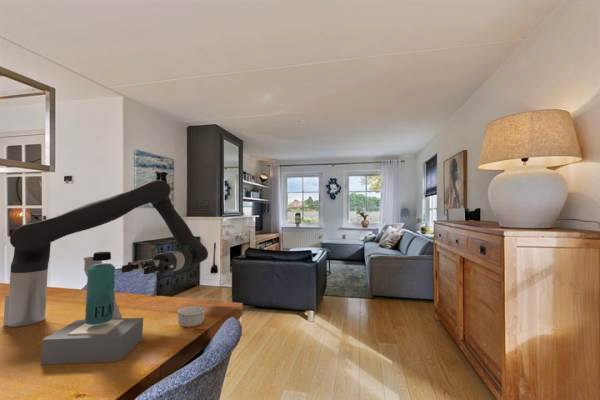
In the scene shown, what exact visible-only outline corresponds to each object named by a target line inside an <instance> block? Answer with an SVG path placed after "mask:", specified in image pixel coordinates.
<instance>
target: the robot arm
mask: <svg viewBox="0 0 600 400" xmlns="http://www.w3.org/2000/svg"><path fill="white" fill-rule="evenodd" d="M170 194H171V187H170V185H169V183H168V182H166V181H165V180H160V179H154V180H151V181H148V182H146V183H144V184H142V185H140V186H137V187H136V188H132V189H130V190H126V191H124V192H120V193H116V194H114V195H110V196H108V197H104V198H101V199H97V200H94V201H91V202H89V203H86V204H84V205H81V206H78V207H76V208H73V209H72V210H69V211H67V212H65V213H63V214H61V215H57V216H55V217H51V218H47V219H43V220H40V221H36V222H31V223H24V224H22V225H19V226H18V227H16V228H15V229H14V230H13V231H12V233H11V234H10V237H9V242H10V244H11V246H12V247H13V248H14V249H13V250H14V251H13V257H12V258H13V259H12V261H11V264H10V273H9V288H8V294H7V295H4V308H3V309H4V310H3V324H2V325H3V326H7V327H10V328H19V327H25V326H29V325H30V326H31V325H34V324H36V323H40V322H42V321H44V320H45V319H46V305H47V291H48V274H49V273H48V271H49V269H48V268H49V263H50V258H51V257H50V254H51V245H52V244H51V243H53V242H55V241H57V240H59V239H61V238H65V237H66V236H69V235H72V234H73V235H74V234H76V233H79V232H84V231H87V230H90V229H93V228H97V227H99V226H102V225H106V224H108V223H110V222H114V221H115V220H118V219H119V218H122V217H123V216H125V215H126V214H129V212H131V211H133V210H134V209H136V208H139V207H141V206H144V205H147V204H151V205H152V206H153V207H154V209H155V211H157V212H158V213H159V215H160V216H161V218H162V219H163V221H164V222H165V225H166V226H167V228H168V229H169V232H170V234H171V235H172V236H173V238H174V240H175V242H176V243H177V245H178V246H179V248H180V247H181V248H183V247H187V246H188V247H190V249H189V250H187V249H183V250H182V249H181V250H172V251H166V252H160V253H157V254H155V255H154V257H152V258H150V259H146V260H144V259H141V260H135V261H129V262H127V264H124V265H121V273H129V272H133V271H134V272H135V271H138V272H143V274H144V275H150V274H153V273H155V274H156V275H165V274H169V273H172V272H176V271H178V270H182V269H183V268H184V269H186V268H188V269H189V268H192V267H194V266H197V265H198V264H201V263H202V262H204V261H205V260H206V259H208V257H209V252H208V248H207V247H206V246H205V245H204V244H203V243H202V242H201V241H200V240H199V239H197V238H196V236H195V235H194V234H193V232H192V230H191V229H190V227H189V226H188V224H187V223H186V221H185V220H184V218H182V216H180V214H179V213H178V211H177V210H176V208H175V207H174V205H173V202H172V200H171V198H170Z"/></svg>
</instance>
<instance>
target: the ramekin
mask: <svg viewBox="0 0 600 400" xmlns="http://www.w3.org/2000/svg"><path fill="white" fill-rule="evenodd" d="M205 312H206V308H205V307H203V306H200V305H199V306H198V305H191V306H185V307H182V308H179V310H177V318H178V325H179V326H181V327H184V328H187V327H188V328H189V327H191V326H192V327H196V326H198V325H199V326H200V325H201V324H203V322H204V319H205Z"/></svg>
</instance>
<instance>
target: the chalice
mask: <svg viewBox="0 0 600 400" xmlns="http://www.w3.org/2000/svg"><path fill="white" fill-rule="evenodd" d="M83 260H84V265H83V266H84V267H83V268H84V269H83V270H84V274H85V275H86V278H87V277H88V269H89V268H90V267H91V266H92V265H95V264H102V263H103V261H93V256H86V257H83ZM86 299H87V296H86V298H85V299H84V301H83V302H84V303H86Z"/></svg>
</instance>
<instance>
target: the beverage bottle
mask: <svg viewBox="0 0 600 400" xmlns="http://www.w3.org/2000/svg"><path fill="white" fill-rule="evenodd" d="M92 257H93V261H102V264H95V265H92V266H91V267H90V268H89V269H88V277H87V276H86V278H87V279H86V281H87V283H86V297H87V299H86V298H85V299H86V302H85V313H84V320H85V322H86V324H89V325H95V324H101V323H105V322H108V321H110V320H111V319H112V317H113V316H114V315H113V311H114V305H113V303H114V302H113V300H114V290H115V284H116V280H115V279H116V275H115V272H116V271H115V270H116V266H114V264H112V263H108V262H106V263H104V261H109V260H112V254H111V252H110V251H96V252H94V253H93V255H92Z"/></svg>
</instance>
